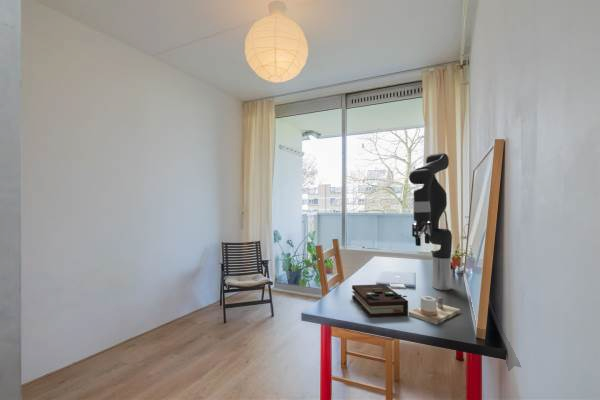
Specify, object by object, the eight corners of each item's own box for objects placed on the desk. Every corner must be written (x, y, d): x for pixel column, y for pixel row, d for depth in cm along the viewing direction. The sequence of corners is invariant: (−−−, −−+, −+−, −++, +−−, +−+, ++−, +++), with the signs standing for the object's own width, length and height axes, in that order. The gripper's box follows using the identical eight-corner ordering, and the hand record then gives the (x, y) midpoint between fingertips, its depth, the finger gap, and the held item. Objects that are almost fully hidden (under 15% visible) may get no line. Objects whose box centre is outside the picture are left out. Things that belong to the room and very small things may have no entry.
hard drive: (387, 280, 173) (390, 286, 161) (401, 281, 172) (406, 286, 160) (387, 283, 173) (390, 289, 161) (401, 283, 172) (406, 289, 160)
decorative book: (384, 281, 149) (413, 300, 119) (384, 295, 149) (413, 319, 119) (348, 282, 147) (368, 302, 117) (348, 297, 147) (368, 321, 117)
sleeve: (425, 309, 125) (425, 295, 125) (438, 313, 120) (438, 298, 120) (418, 312, 121) (418, 297, 121) (431, 316, 117) (431, 301, 117)
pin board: (433, 304, 134) (432, 292, 134) (459, 312, 125) (459, 298, 125) (408, 315, 122) (408, 301, 122) (436, 324, 113) (436, 309, 113)
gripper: (422, 210, 146) (423, 242, 146) (406, 211, 137) (407, 245, 137) (436, 210, 140) (437, 243, 140) (421, 211, 131) (422, 247, 131)
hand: (422, 244), depth 138 cm, fingers open, 8 cm apart
